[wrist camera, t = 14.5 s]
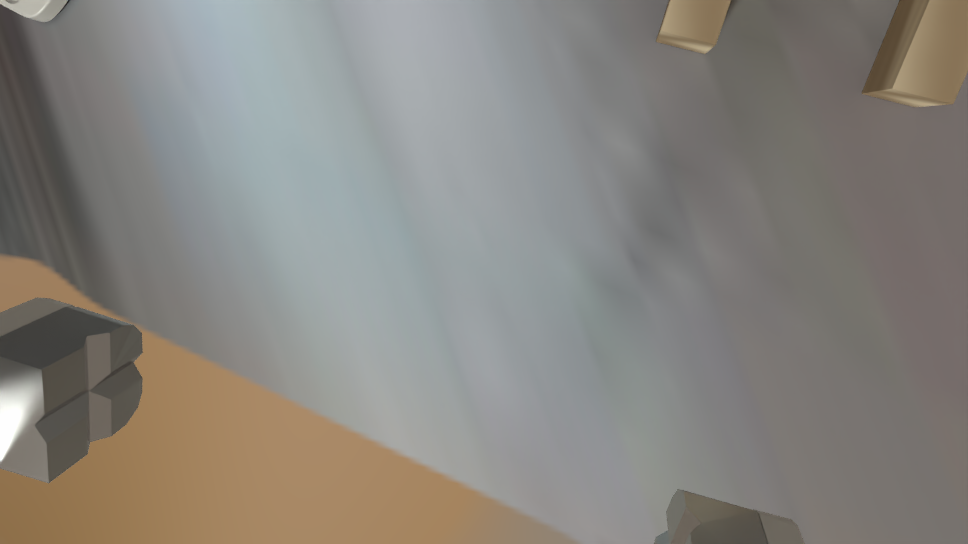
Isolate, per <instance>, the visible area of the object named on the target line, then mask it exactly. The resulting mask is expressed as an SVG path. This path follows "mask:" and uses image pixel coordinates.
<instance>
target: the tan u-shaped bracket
mask: <svg viewBox="0 0 968 544" xmlns="http://www.w3.org/2000/svg"><path fill="white" fill-rule="evenodd" d="M730 2H731V0H669V2H668V5H667V8H666V11H665V14H664V18H663V21H662V24H661V27H660V30H659V33H658V36H657V40H656V42H659V43H663V44H667V45H671V46H675V47H679V48H683V49H687V50H691V51H695V52H699V53H703V54H706V53H707V52H708V51H709V50H710V49H711V48H713V47H714V46H715V45H716V42H717V40H718V37H719V34H720V31H721V28H722V25H723V22H724V19H725V16H726V13H727V10H728V8H729V5H730ZM967 72H968V0H900V1H899V4H898V6H897V9H896V11H895V13H894V16H893V18H892V21H891V23H890V26H889V28H888V30H887V33H886V35H885V38H884V40H883V43H882V45H881V48H880V50H879V52H878V55H877V57H876V60H875V62H874V65H873V67H872V69H871V72H870V74H869V77H868V79H867V82H866V84H865V86H864V89H863V91H862V94H865V95H869V96H873V97H877V98H881V99H885V100H889V101H893V102H896V103H900V104H904V105H908V106H912V107H924V106H936V105H947V104H953V103H954V101H955V99H956V96H957V94H958V92H959V90H960V88H961V85H962V83H963V81H964V79H965V76H966V74H967Z"/></svg>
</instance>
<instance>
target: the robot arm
mask: <svg viewBox="0 0 968 544" xmlns="http://www.w3.org/2000/svg"><path fill="white" fill-rule="evenodd" d="M67 1H68V0H0V4H2V5H3V6H5V7H7V8H9V9H11V10H13V11H15V12H16V13H18V14H20V15H22V16H24V17H27V18H30V19H33V20H36V21H40V22H47V21H50V20H51V19H53V18H54V17H55V16H56V15H57V14H58V13H59V12H60V11H61V9H62V8H63V7H64V5H65V4H66V3H67ZM141 354H142V333H141V332H140V331H139V330H138V329H137V328H136V327H135V326H134V325H132V324H129V323H126V322H122V321H119V320H116V319H113V318H110V317H107V316H104V315H101V314H98V313H95V312H91V311H88V310H85V309H82V308H79V307H74V306H73V305H70V304H66V303H63V302H60V301H56V300H53V299H47V298H35V299H32V300H30V301H27V302H25V303H22V304H20V305H18V306H15V307H13V308H10V309H8V310H6V311H3V312H1V313H0V468H1V469H4V470H7V471H10V472H14V473H17V474H20V475H24V476H27V477H30V478H34V479H37V480H40V481H44V482H47V483H50V482H51V481H52V480H54V479H55V478H56V477H57V476H59V475H60V474H62V473H63V472H64V471H66V470H67V469H68V468H70V467H71V466H72V465H74V464H75V463H76V462H78V461H79V460H80V459H82V458H83V457H84V456H86V455H87V454H88V449H89V444H90V442H92V441H96V440H99V439H103V438H106V437H110V436H112V435H113V434H115V433H116V432H117V431H119V430H120V429H121V428H122V427H123V426H125V425H126V424H127V422H128V421H129V419H130V418H131V417H132V415H133V414H134V412H135V411H136V409H137V408H138V405H139V401H140V397H141V394H142V376H141V375H140V373H139V371H138V370H137V368H136V366H135V365H134V363H133V362H134V361H135V360H136V359H137V358H138V357H139V356H140V355H141ZM666 515H667V526H668V531H666V532H664V533H662V534H661V535H659V536H657V537H656V539H655V542H654V544H805V543H804V541H803V538H802V536H801V533H800V530H799V528H798V526H797V525H796V524H795V523H794V522H793V521H792V520H791V519H788V518H784V517H780V516H776V515H773V514H769V513H765V512H761V511H758V510H754V509H753V510H751V509H747V508H744V507H740V506H737V505H733V504H730V503H726V502H722V501H719V500H715V499H712V498H708V497H705V496H701V495H698V494H694V493H691V492H687V491H684V490H680V489H677V491H676V492H675V494H674V495H673V497H672V499H671V501H670V504H669V506H668V509H667V511H666Z"/></svg>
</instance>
